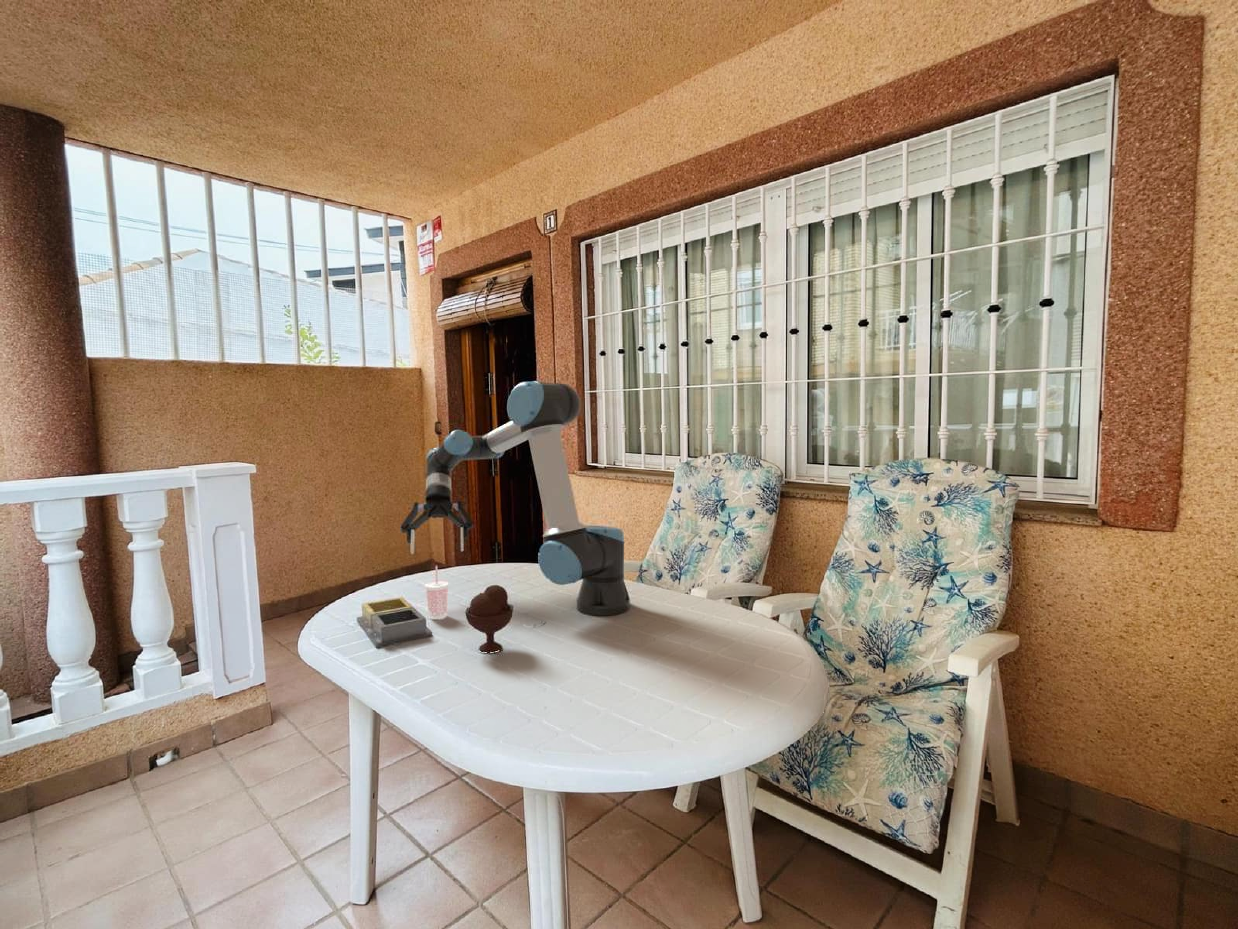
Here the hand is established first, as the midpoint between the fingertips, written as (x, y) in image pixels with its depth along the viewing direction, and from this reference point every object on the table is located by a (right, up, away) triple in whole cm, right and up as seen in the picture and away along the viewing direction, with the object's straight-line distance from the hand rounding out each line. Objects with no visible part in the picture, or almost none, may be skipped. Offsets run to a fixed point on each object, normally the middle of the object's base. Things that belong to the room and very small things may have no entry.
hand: (437, 550), depth 165 cm
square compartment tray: (-6, -17, -17) cm, 25 cm away
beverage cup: (+3, -17, -9) cm, 19 cm away
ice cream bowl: (+22, -19, -31) cm, 42 cm away
